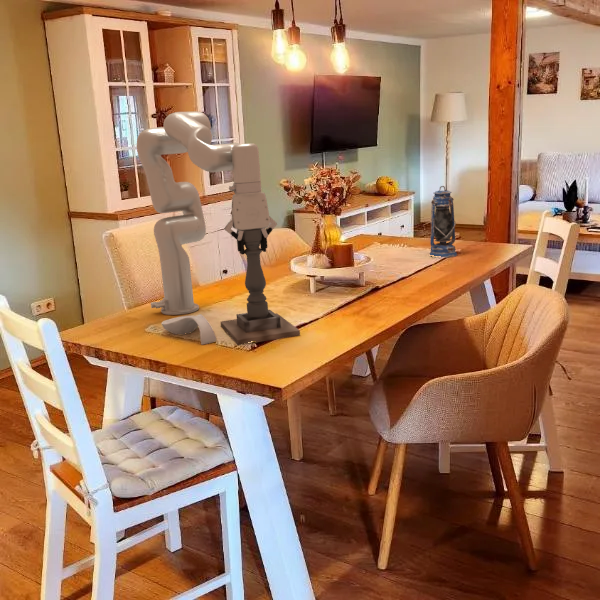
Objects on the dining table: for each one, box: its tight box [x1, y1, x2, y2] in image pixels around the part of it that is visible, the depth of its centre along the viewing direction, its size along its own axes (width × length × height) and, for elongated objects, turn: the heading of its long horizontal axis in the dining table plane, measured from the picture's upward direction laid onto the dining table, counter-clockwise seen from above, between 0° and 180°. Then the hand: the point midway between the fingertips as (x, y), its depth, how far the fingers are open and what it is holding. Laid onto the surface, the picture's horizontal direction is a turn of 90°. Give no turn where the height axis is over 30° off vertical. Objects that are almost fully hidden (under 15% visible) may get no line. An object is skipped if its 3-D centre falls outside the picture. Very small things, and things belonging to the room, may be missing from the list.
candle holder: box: [242, 229, 269, 317], centre depth 198 cm, size 6×6×25 cm
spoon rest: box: [160, 314, 217, 345], centre depth 202 cm, size 24×12×7 cm, turn 35°
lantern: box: [429, 185, 458, 259], centre depth 298 cm, size 15×12×30 cm
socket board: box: [220, 309, 301, 346], centre depth 202 cm, size 18×22×4 cm
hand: (252, 251), depth 197 cm, fingers closed on candle holder, 5 cm apart
